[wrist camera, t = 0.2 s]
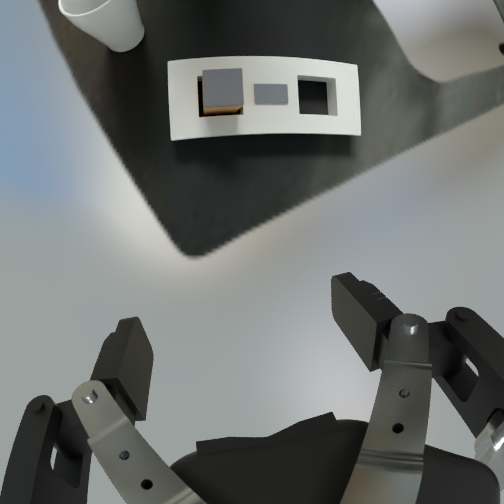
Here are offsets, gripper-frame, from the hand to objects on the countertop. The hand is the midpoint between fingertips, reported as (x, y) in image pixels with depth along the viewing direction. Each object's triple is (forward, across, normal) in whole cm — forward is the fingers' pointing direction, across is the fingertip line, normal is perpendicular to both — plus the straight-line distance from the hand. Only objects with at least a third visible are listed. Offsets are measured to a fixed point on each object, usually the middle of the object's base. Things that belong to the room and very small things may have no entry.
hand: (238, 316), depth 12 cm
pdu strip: (+28, -9, -12) cm, 32 cm away
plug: (+28, -3, -12) cm, 31 cm away
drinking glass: (+28, +8, -24) cm, 38 cm away
